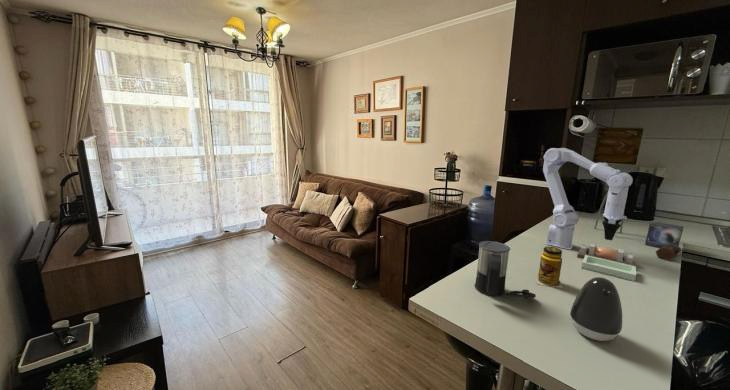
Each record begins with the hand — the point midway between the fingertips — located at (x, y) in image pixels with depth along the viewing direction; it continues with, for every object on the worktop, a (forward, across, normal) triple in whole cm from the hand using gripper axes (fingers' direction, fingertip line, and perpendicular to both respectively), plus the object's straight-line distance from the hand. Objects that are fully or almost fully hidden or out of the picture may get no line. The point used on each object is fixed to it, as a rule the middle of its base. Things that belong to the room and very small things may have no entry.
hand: (608, 237), depth 118 cm
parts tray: (+9, -12, -2) cm, 15 cm away
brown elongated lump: (+10, +23, -20) cm, 32 cm away
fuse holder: (+9, 0, 0) cm, 9 cm away
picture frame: (+10, +35, -19) cm, 41 cm away
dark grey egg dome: (+10, -60, 0) cm, 61 cm away
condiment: (+10, -36, +14) cm, 40 cm away
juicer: (+10, +42, 0) cm, 44 cm away
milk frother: (+10, -56, +23) cm, 61 cm away
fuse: (+9, 0, 0) cm, 9 cm away
